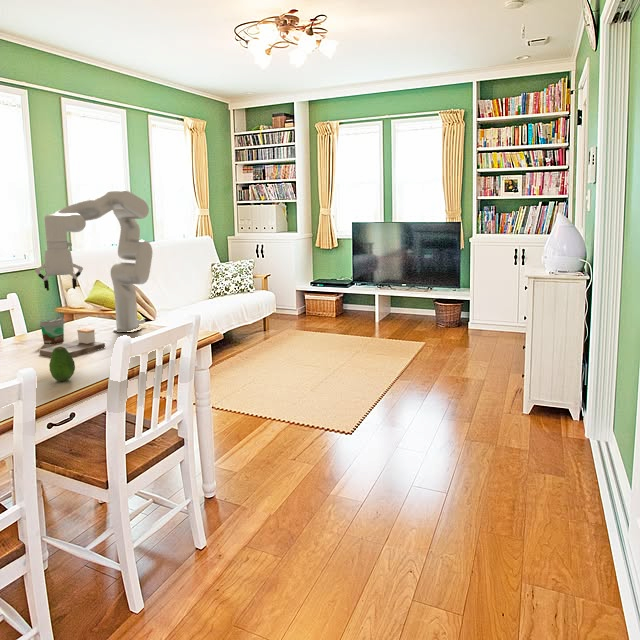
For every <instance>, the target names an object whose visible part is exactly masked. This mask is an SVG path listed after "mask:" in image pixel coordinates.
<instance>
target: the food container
mask: <svg viewBox="0 0 640 640" xmlns="http://www.w3.org/2000/svg"><path fill="white" fill-rule="evenodd" d="M65 324H66V320H65V319H64V317H63V316H56V318H55V319H50V320H47V321H40V323H39V327H40V328H41V334H42V339H43V345H44V344H51V345H58V344H63V342H64V341H65V339H64V338H65V337H64V336H65V334H64V333H65V330H64V328H65V327H64V326H65ZM57 343H58V344H57Z"/></svg>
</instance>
